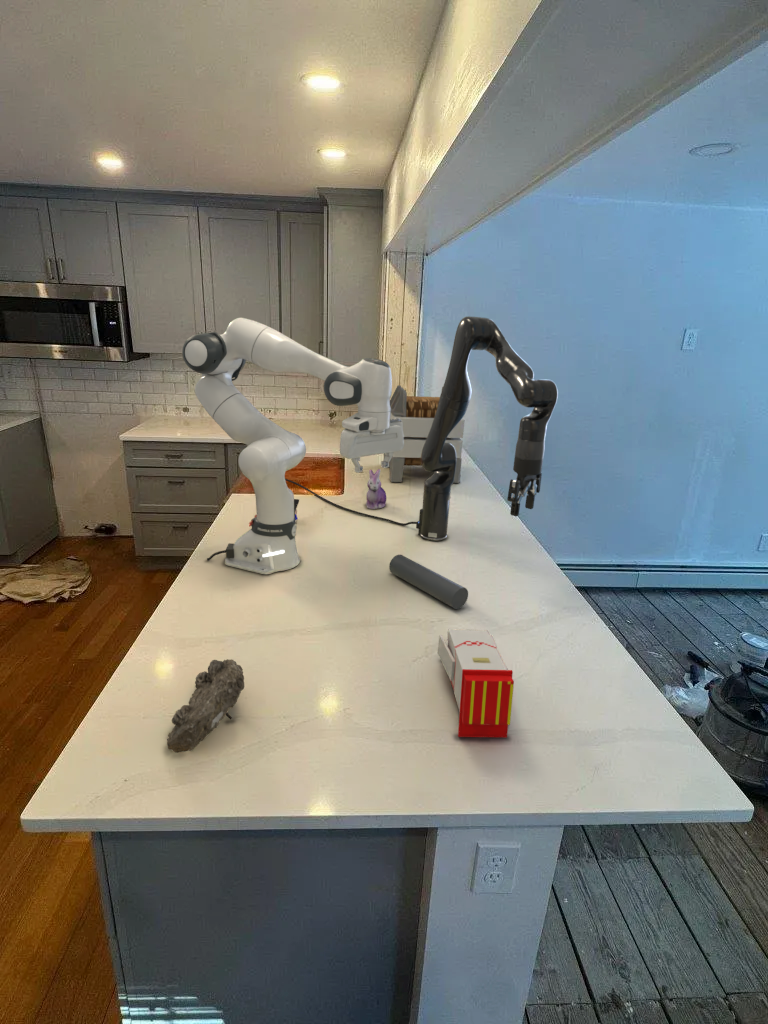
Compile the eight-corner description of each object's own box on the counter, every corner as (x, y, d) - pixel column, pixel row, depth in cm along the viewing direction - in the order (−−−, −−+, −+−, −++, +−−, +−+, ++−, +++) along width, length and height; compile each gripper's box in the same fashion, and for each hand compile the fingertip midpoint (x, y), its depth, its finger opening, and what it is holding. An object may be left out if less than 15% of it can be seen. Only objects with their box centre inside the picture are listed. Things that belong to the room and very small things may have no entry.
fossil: (192, 660, 117) (244, 628, 112) (224, 691, 120) (276, 661, 115) (142, 746, 98) (202, 712, 93) (182, 779, 101) (242, 748, 96)
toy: (488, 613, 130) (523, 677, 101) (484, 667, 133) (517, 744, 104) (435, 612, 130) (455, 676, 101) (432, 666, 133) (451, 743, 103)
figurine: (370, 511, 220) (372, 474, 215) (359, 503, 229) (360, 467, 224) (392, 508, 224) (394, 471, 219) (380, 500, 233) (381, 465, 228)
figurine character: (295, 534, 198) (300, 515, 212) (294, 515, 195) (299, 497, 208) (275, 534, 198) (282, 514, 212) (275, 514, 195) (281, 496, 208)
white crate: (382, 463, 289) (386, 382, 275) (445, 464, 293) (451, 384, 279) (390, 482, 257) (394, 392, 243) (460, 483, 261) (468, 394, 247)
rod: (467, 605, 153) (469, 585, 151) (451, 612, 150) (453, 591, 148) (404, 570, 172) (405, 552, 170) (388, 576, 168) (389, 557, 166)
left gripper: (395, 415, 162) (392, 462, 167) (336, 421, 150) (335, 472, 154) (410, 419, 158) (407, 467, 162) (351, 426, 145) (349, 477, 150)
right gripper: (529, 448, 160) (521, 503, 165) (503, 456, 150) (496, 514, 155) (553, 453, 155) (545, 509, 161) (529, 462, 145) (521, 521, 150)
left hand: (372, 469), depth 158 cm, fingers open, 8 cm apart
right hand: (521, 511), depth 158 cm, fingers open, 8 cm apart
